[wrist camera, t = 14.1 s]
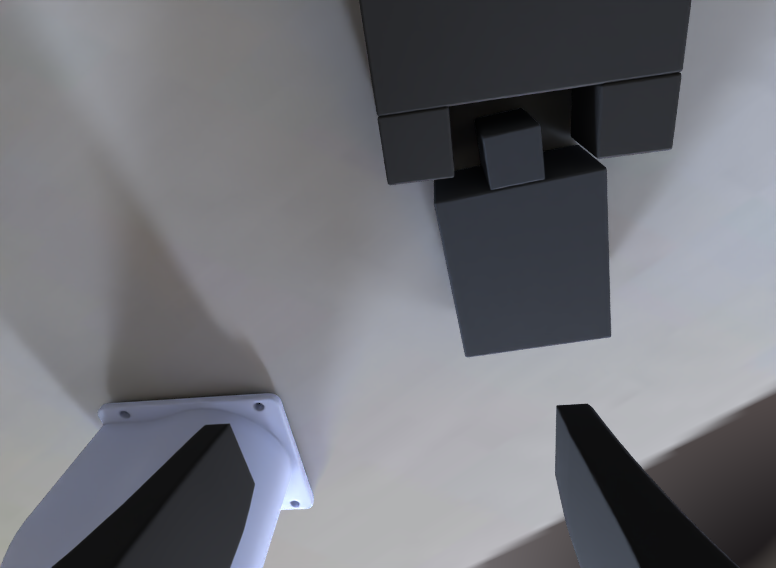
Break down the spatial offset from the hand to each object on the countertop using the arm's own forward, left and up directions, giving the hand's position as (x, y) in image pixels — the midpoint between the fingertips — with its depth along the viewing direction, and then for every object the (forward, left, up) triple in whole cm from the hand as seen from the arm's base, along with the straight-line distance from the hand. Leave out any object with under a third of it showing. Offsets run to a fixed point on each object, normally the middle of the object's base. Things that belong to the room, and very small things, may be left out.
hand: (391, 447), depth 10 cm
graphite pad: (+4, +1, -9) cm, 10 cm away
